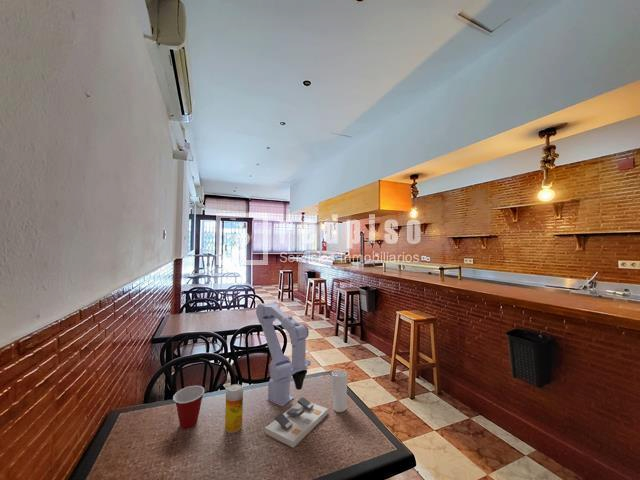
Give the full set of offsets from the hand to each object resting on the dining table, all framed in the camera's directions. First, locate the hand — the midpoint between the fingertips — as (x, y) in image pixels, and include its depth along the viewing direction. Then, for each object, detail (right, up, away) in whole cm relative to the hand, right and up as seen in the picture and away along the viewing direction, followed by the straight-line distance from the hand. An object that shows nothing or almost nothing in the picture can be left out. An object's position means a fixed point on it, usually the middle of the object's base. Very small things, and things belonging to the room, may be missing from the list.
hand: (298, 388), depth 112 cm
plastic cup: (-41, -9, -10) cm, 43 cm away
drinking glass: (+17, -10, +2) cm, 20 cm away
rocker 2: (-1, -6, -7) cm, 9 cm away
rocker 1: (-5, -5, -12) cm, 14 cm away
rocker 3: (+3, -6, -1) cm, 7 cm away
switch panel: (0, -9, -7) cm, 12 cm away
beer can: (-23, -9, -11) cm, 28 cm away
